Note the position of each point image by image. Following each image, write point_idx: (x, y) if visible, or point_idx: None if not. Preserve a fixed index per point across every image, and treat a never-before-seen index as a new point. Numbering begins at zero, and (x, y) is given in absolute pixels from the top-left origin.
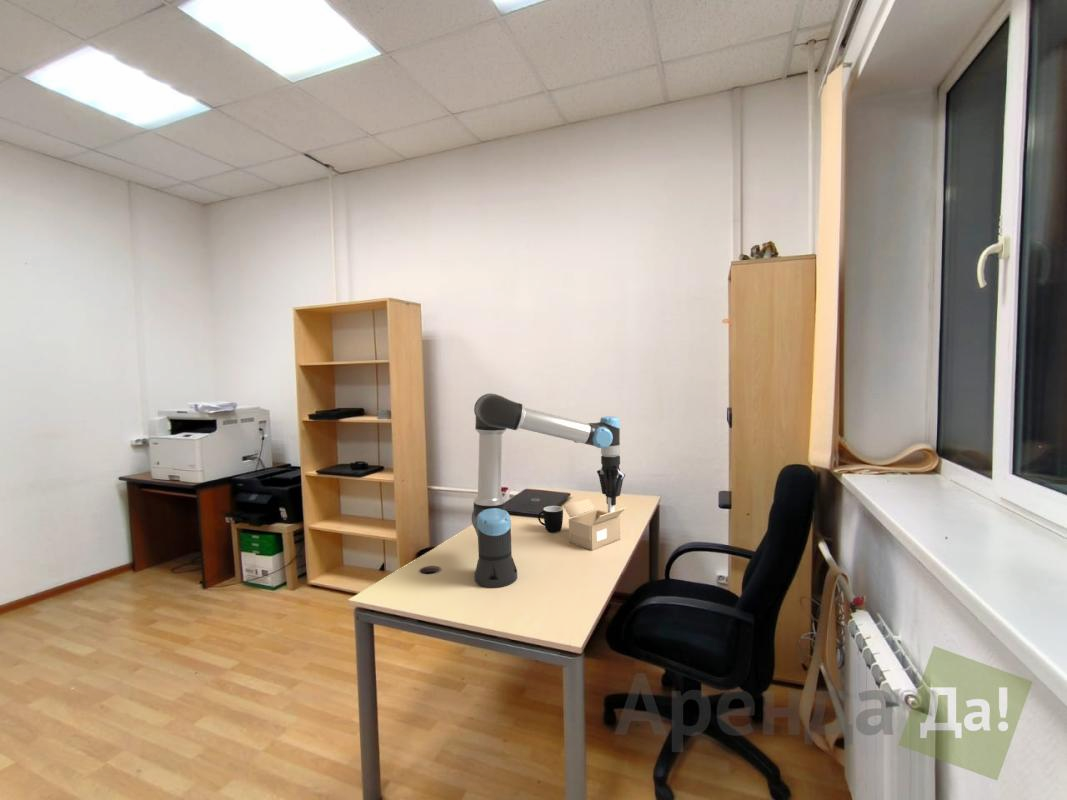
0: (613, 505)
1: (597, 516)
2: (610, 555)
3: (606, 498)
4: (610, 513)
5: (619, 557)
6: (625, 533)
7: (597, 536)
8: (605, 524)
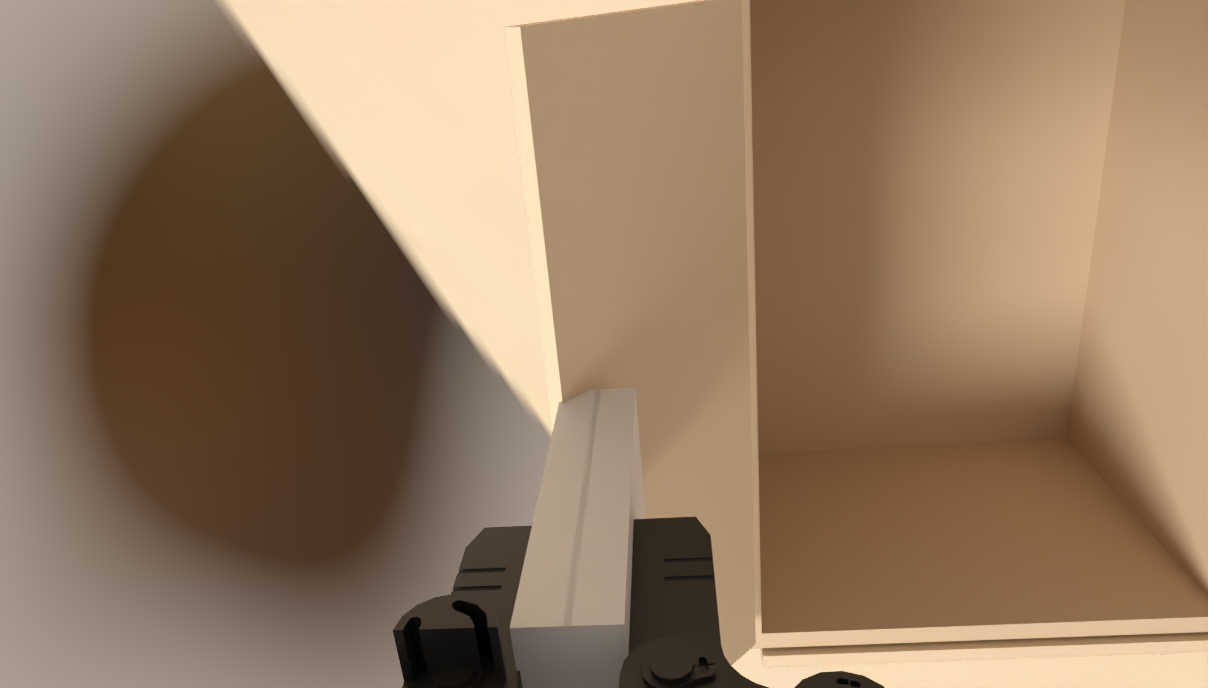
0: (482, 533)
1: (1162, 555)
2: (439, 33)
3: (713, 611)
4: (552, 388)
5: (330, 74)
6: None
7: None
8: None
